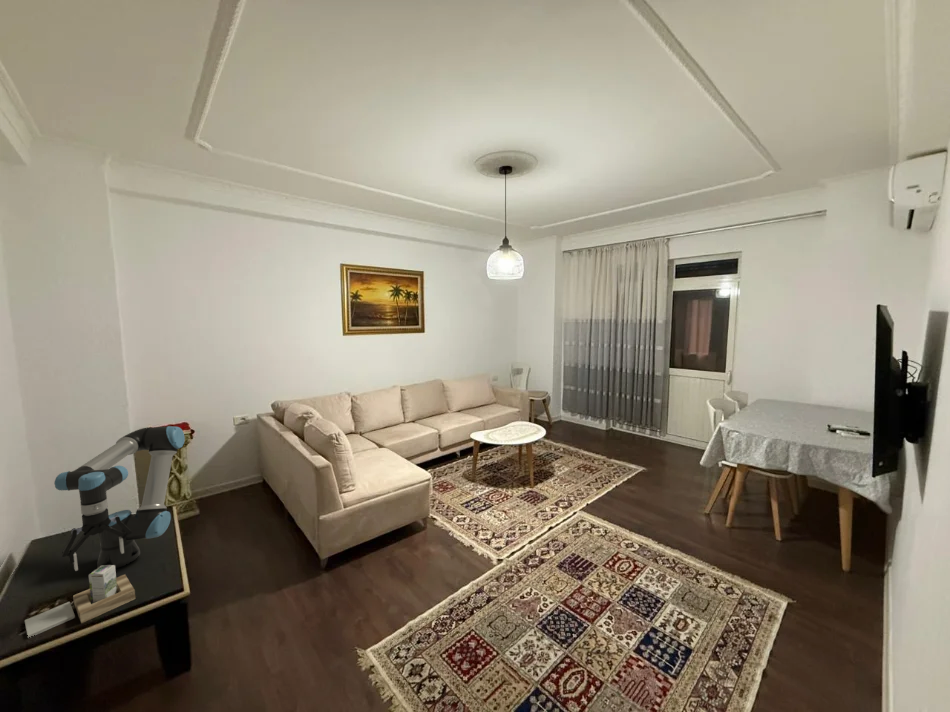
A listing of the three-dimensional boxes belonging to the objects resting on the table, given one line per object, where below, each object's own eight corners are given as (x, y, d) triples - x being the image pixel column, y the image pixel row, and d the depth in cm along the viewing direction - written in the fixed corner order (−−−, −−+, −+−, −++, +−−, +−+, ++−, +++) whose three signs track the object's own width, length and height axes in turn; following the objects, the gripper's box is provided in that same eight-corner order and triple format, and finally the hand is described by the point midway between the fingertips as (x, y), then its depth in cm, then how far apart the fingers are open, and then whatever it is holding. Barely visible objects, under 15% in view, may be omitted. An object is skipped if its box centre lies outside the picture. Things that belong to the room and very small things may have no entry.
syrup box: (103, 597, 160) (100, 565, 158) (118, 596, 160) (115, 564, 159) (91, 607, 154) (87, 574, 153) (106, 606, 155) (103, 573, 153)
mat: (24, 622, 146) (24, 620, 146) (69, 603, 156) (69, 601, 156) (28, 638, 139) (27, 636, 139) (74, 617, 149) (74, 615, 149)
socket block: (74, 604, 156) (73, 595, 155) (125, 582, 168) (125, 574, 168) (81, 623, 146) (80, 614, 146) (135, 598, 159) (134, 590, 158)
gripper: (50, 528, 141) (56, 581, 143) (137, 502, 160) (142, 548, 163) (47, 521, 145) (53, 573, 147) (133, 496, 165) (137, 542, 167)
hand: (100, 560), depth 155 cm, fingers open, 13 cm apart
